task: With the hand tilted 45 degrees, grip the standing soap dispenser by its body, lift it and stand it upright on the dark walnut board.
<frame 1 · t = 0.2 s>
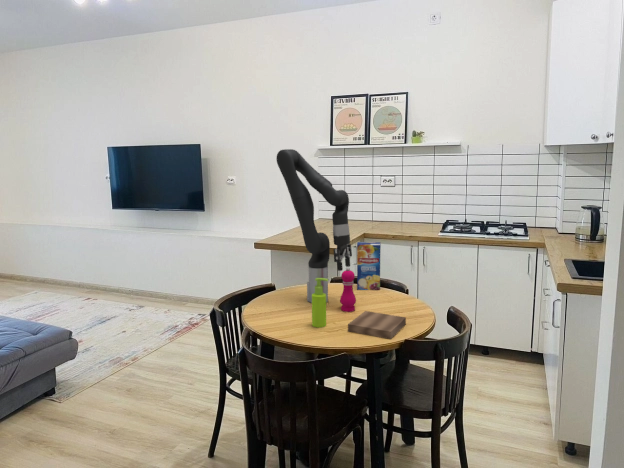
hand: (344, 268, 216), 18 cm above the table, tool pointing down, fingers open, 8 cm apart
soap dispenser: (320, 325, 194), on the table
walnut board: (377, 327, 190), on the table
pepper mill: (348, 310, 213), on the table
juice carton: (368, 288, 247), on the table
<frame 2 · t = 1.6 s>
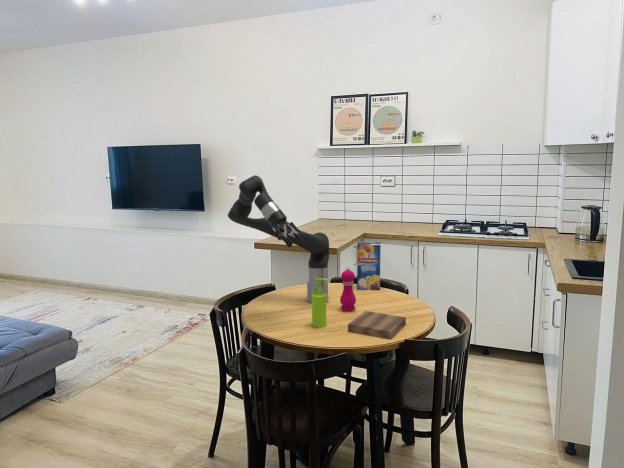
hand: (296, 244, 194), 33 cm above the table, tool tilted 45°, fingers open, 8 cm apart
nothing on the table moved.
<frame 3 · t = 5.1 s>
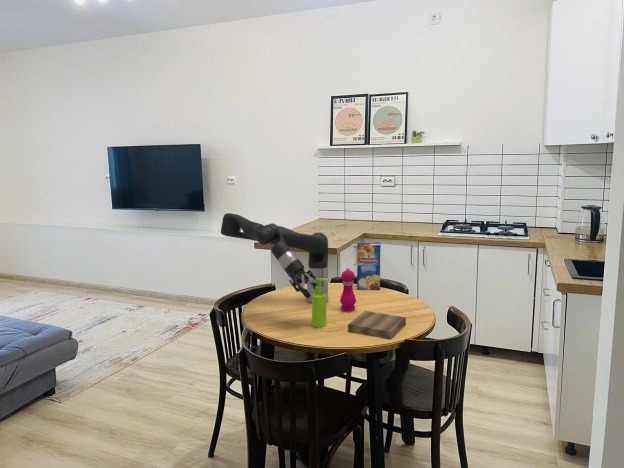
hand: (314, 294, 191), 13 cm above the table, tool tilted 45°, fingers open, 8 cm apart
soap dispenser: (320, 325, 194), on the table, touching gripper
everything else where it was.
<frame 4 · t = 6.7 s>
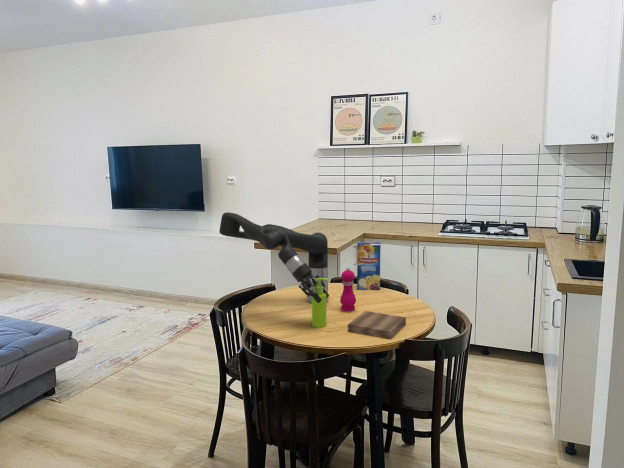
hand: (323, 299, 191), 11 cm above the table, tool tilted 45°, fingers closed on soap dispenser, 6 cm apart
soap dispenser: (320, 325, 194), on the table, touching gripper
everything else where it was.
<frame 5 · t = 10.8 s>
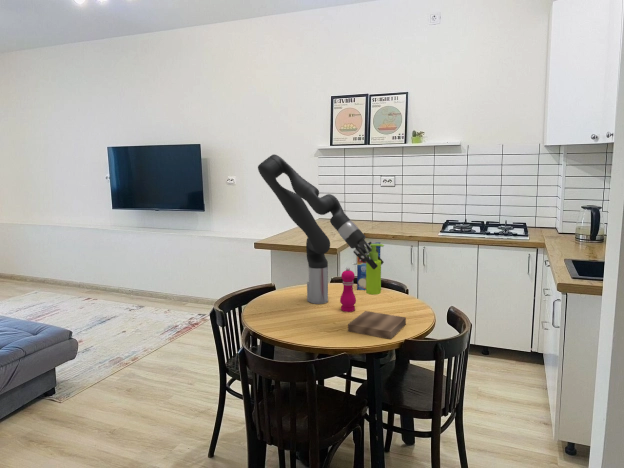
hand: (378, 265, 185), 26 cm above the table, tool tilted 45°, fingers closed on soap dispenser, 6 cm apart
soap dispenser: (374, 293, 188), point 15 cm above the table, touching gripper
everything else where it was.
when the fingers open (16 cm above the table, at t = 14.4 s): soap dispenser drops 1 cm, resting on walnut board.
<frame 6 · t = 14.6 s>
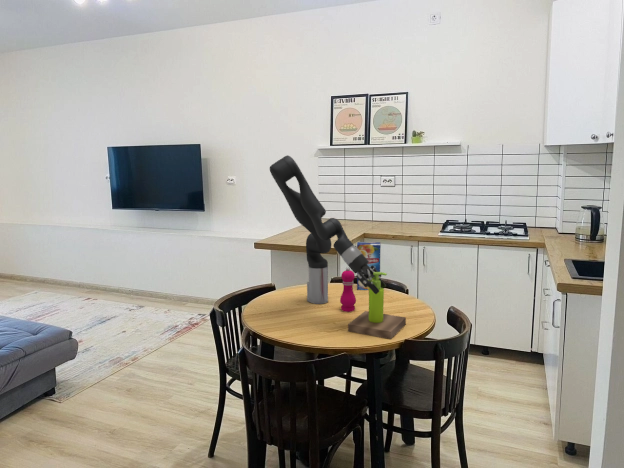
hand: (381, 290, 187), 16 cm above the table, tool tilted 45°, fingers open, 7 cm apart
soap dispenser: (377, 320, 190), point 3 cm above the table, touching walnut board
everything else where it was.
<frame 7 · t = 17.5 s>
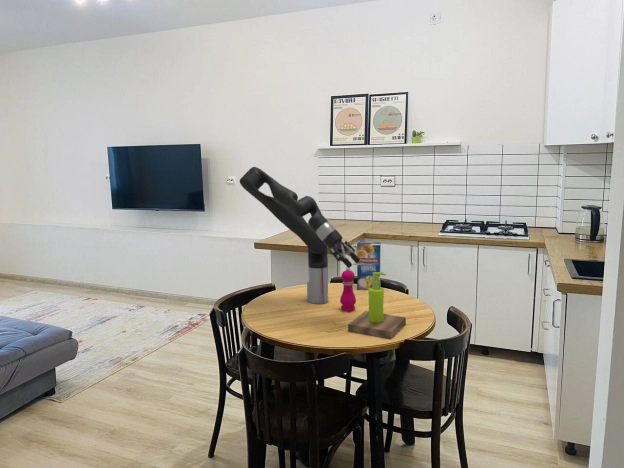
hand: (354, 264, 192), 25 cm above the table, tool tilted 45°, fingers open, 8 cm apart
nothing on the table moved.
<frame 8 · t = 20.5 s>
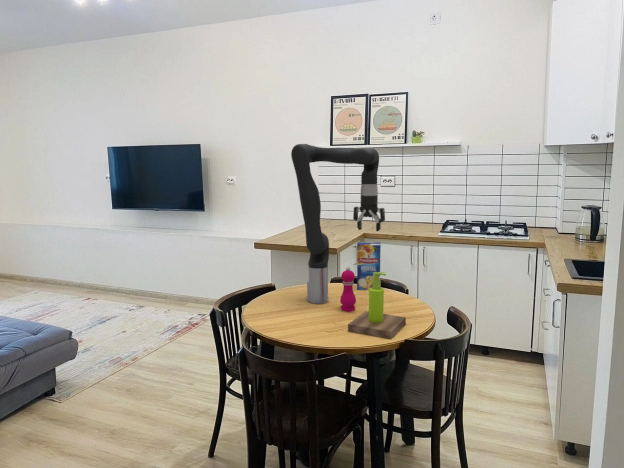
hand: (368, 230, 209), 36 cm above the table, tool pointing down, fingers open, 8 cm apart
nothing on the table moved.
at the end: soap dispenser inside the target area on the walnut board (0.4 cm from its centre), point 2.8 cm above the walnut board's base; soap dispenser tilted 0°; the gripper is holding nothing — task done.
